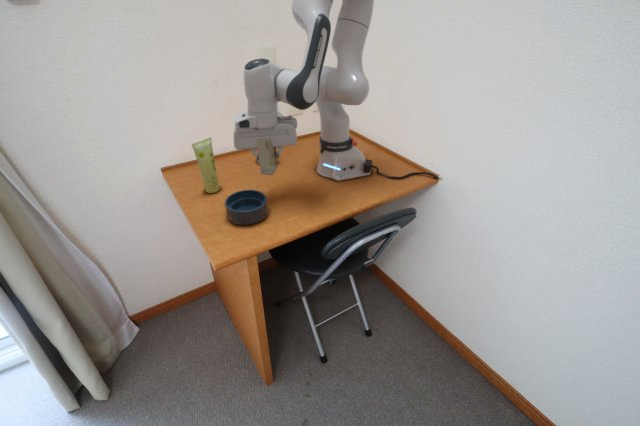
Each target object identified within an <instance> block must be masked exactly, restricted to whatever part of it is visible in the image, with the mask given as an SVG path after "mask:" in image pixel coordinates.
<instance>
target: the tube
mask: <svg viewBox="0 0 640 426" xmlns="http://www.w3.org/2000/svg"><path fill="white" fill-rule="evenodd" d="M191 147H192V149H193V152H194V155H195V158H196V161H197V164H198V167H199V171H200V174H201V175H200V176H201V178H202V182H203V186H204V190H205V192H206V193H207V194H214V193H217V192H219V191H220V185H219V179H218V174H217V168H216V162H215V156H214V151H213V150H214V149H213V142H212V137H208V138H205V139H202V140H200V141H197V142H194V143H191Z"/></svg>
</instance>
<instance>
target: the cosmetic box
mask: <svg viewBox="0 0 640 426" xmlns="http://www.w3.org/2000/svg"><path fill="white" fill-rule="evenodd" d="M257 147H258V148H257V153H258V155H259V163H260V164H259V163H258V164H259V170H260V175H266V176H273V175H274V174H275V173H276V171H277V170H278V168H279V162H278V158H276V153H275V152H277V147H272V143H271V139H264V140H257ZM277 162H278V163H277Z"/></svg>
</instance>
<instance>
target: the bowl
mask: <svg viewBox="0 0 640 426" xmlns="http://www.w3.org/2000/svg"><path fill="white" fill-rule="evenodd" d="M224 208H225V211H226V217H227V219H228V221H230V222H231V223H232V224H236V225H242V226H247V225H248V226H249V225H253V224H257V223H260V222H262V221H263V220H264V219H265V218H266V217H267V216H268V214H269V207H268V197H267V196H266V194H265V193H264V192H262V191H260V190H256V189H244V190H238V191H235V192H233V193H231V194H230V195H228V196H227V197H226V198H225V200H224Z"/></svg>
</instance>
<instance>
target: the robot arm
mask: <svg viewBox="0 0 640 426" xmlns="http://www.w3.org/2000/svg"><path fill="white" fill-rule="evenodd" d="M341 1H342V3H341V6H340V8H339V12H338V16H337V19H336V22H335V27H334V31H333V35H332V39H331V43H330V38H331V32H332V31H331V30H332V27H331V26H332V25H331V21H330V13H331V9H332V6H333V3H334V0H292V4H291V12H292V13H291V14H292V16H293V19H294V20H295V22H296V23H297V25H298V26H299V27H300V28H301V29H302V30H303V31H305V33H306V36H307V43H306V48H305V51H304V56H303V60H302V65H301V67H300V69H299V70H298V71H297V70H293V69H290V68H286V67H282V66H279V65H276V64H274V63H273V62H271V60H269V59H267V58H255V59H252V60H250V61H248V62H247V63H246V64H245V65H244V68H243V86H244V87H243V88H244V94H245V98H246V100H247V107H246V108H247V111H244V112H242V113H239V114H237V115H236V116H235V118H234V127H233V147H234V149H236V150H237V151H240V150H241V151H242V150H250V152H251V153H252V154H253V155H254V157H255V161H258V160H259V155H258V152H257V150H256V149H258V147H257V140H264V139H271V143H272V147H276V148H277V147H278V150H277V151H276V152H275V153H276V158H277V159H281V154H282V152H283V150H284V147H285V146H286V147H287V146H295V145H297V143H298V134H297V128H298V120H297V118H296V117H294V116H292V115H286V116H283V115H282V116H278V106H277V105H278V103H279V102H281V103H284V104H287V105H289V106H291V107H293V108H295V109H298V110H301V111H305V110H307V109H310V108H311V107H312V106H313V105H314V104H316V106H317V111H318V114H319V120H320V136H319V141H318V151H319V156H318V157H319V158H318V162H317V166H316V168H315V171H316V173H317V174H319V176H322V177H325V178H328V179H332V180H335V181H337V182H340V181H346V180H351V179H355V178H361V177H367V176H370V175H371V174H372V168H373V169H375V170H376V173H377V175H379V176H383V177H385V178H388V179H392V180H394V179H395V180H401V179H405V178H407V177H410V176H412V175H428V176H432V177H433V178H435V180H439V177H438V176H437V175H435V174H434V173H432V172H426V171H419V172H418V171H416V172H415V171H414V172H410V173H407V174H405V175H402V176H401V175H400V176H389V175H385V174H382V173H381V172H380V169H379V167H378V166H376V165H373V159H367V158H366V157H365V155H364V153H363V152H362V151H361V150H360V149H359V148H357V146H358V142H357V141H356V140H355V139H354V138H353V137H352V136H351V135H350V125H351V118H350V116H349V114H348V113H347V111H346V110H345V109H344V106H343V105H345V106H360V105H361V104H363V103H364V102H365V101H366V100H367V99H368V96H369V93H370V82H369V79H368V78H367V76H366V74H365V72H364V67H363V54H364V50H365V49H364V48H365V45H366V41H367V37H368V34H369V31H370V30H369V29H370V26H371V23H372V18H373V13H374V5H375V0H341ZM329 44H330V45H331V49H332V51H333V52H334V54H335V55H336V59H337V61H336V62H337V63H336V64H337V65H336V67H333V66H327V65H324V64H325V60H326V56H327V51H328V48H329Z"/></svg>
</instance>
